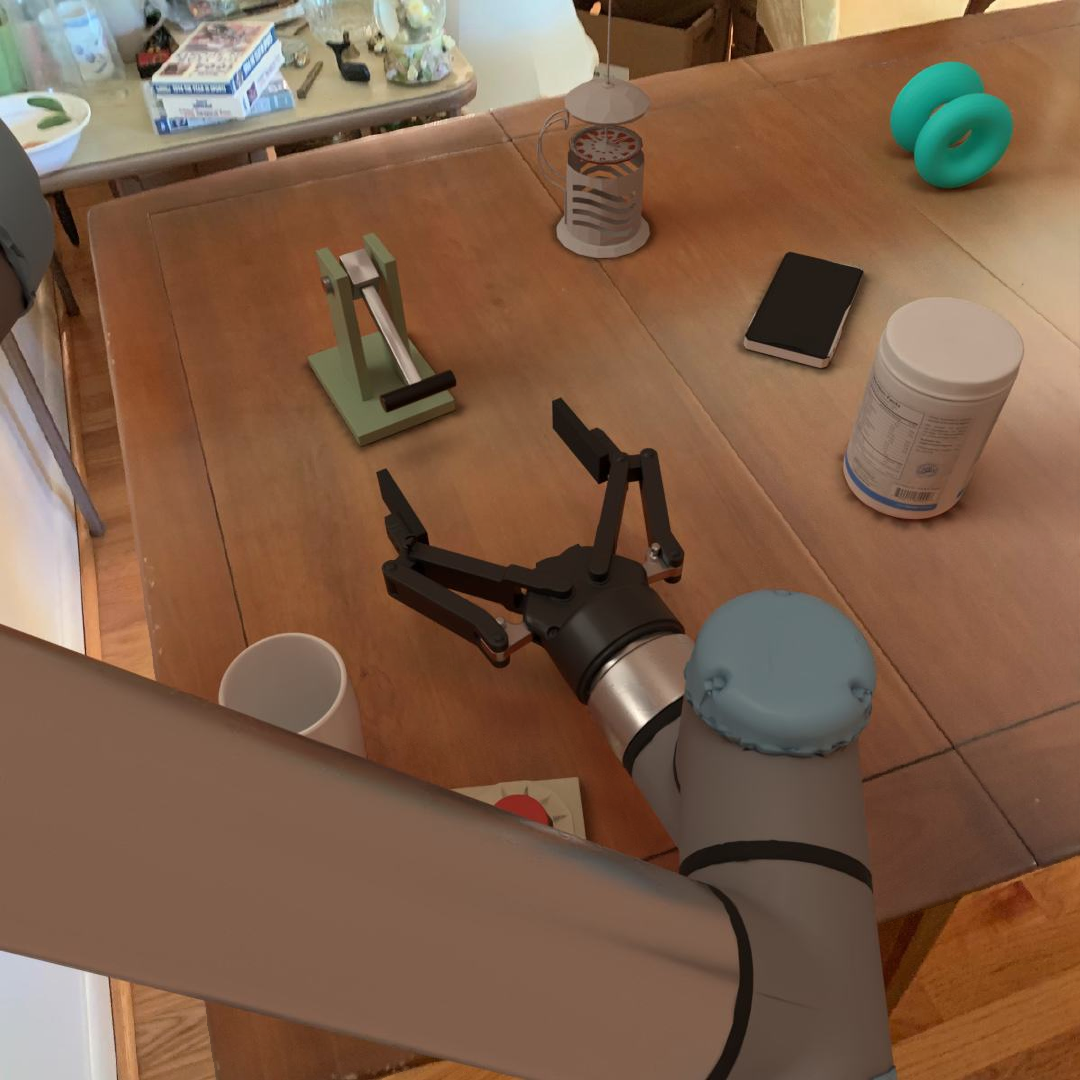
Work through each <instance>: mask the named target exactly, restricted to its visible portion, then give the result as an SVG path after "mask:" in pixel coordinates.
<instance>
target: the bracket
mask: <svg viewBox="0 0 1080 1080" xmlns="http://www.w3.org/2000/svg"><path fill="white" fill-rule="evenodd" d="M362 240H363V244H364V245H363V246H364V248H365V249H366V251H367V253H368V255H369V257H370V259H371V261H372V263H373V265H374V266H375V268H376V270H377V272H378V274H379V292H378V295H379V297H380V298H381V300H382V302H383V304H384V306H385V308H386V310H387V312H388V314H389V316H390V318H391V320H392V322H393V324H394V326H395V328H396V330H397V332H398V334H399V336H400V338H401V340H402V342H403V344H404V346H405V348H406V350H407V351H408V353H409V355H410V357H411V359H412V361H413V363H414V365H415V367H416V369H417V371H418V373H419V375H420V377H421V379H425V378H427V377H430V376H433V375H435V374H436V373H435V371H434V370H433V369H432V368H431V366H430V365H429V363H428V362H427V360H425V358H424V356H423V355H422V354H421V353H420V352H419V350H418V348H417V347H416V346H415V344H414V343H413V342H412V341H411V339H410V338H409V335H408V329H407V322H406V317H405V316H406V315H405V310H404V303H403V298H402V291H401V285H400V279H399V271H398V266H397V260H396V258H395V257H394V256H393V255H392V253H391V252H390V251H389V250H388V248H387V247H386V246H385V244H384V243H383V242H382V241H381V240H380V237H379V236H378V235H377V234H376V233H375V232H370V233H367V234H364V235H362ZM315 254H316V258H317V263H318V268H319V272H320V275H321V277H320V283H321V286H322V289H323V292H324V294H325V297H326V301H327V306H328V311H329V314H330V319H331V323H332V328H333V332H334V336H335V341H336V345H335V346H332V347H330V348H326V349H324V350H321V351H319V352H316V353H313V354H310V355H308V356H307V360H308V364H309V366H310V368H311V370H312V372H313V373H314V375H315V376H316V378H317V379H318V381H319V382H320V384H321V386H322V387H323V389H324V390H325V392H326V394H327V396H328V397H329V398H330V400H331V402H332V403H333V405H334V407H335V409H336V410H337V411H338V414H339V415H340V416H341V418H342V419H343V421H344V422H345V424H346V426H347V428H348V429H349V430H350V432H351V434H352V436H353V438H354V439H355V440H356V442H357V444H358V445H359V447H363V446H366V445H369V444H371V443H373V442H377V441H379V440H382V439H384V438H387V437H389V436H393V435H394V434H396V433H399V432H400V433H401V432H403V431H405V430H407V429H410V428H413V427H415V426H418V425H419V424H420V425H421V424H422V423H425V422H427V421H430V420H433V419H435V418H438V417H440V416H443V415H445V414H448V413H451V412H453V411H455V410H456V408H457V407H456V401H455V398H454V397H453V396H452V394H451V393H450V391H449V390H446V391H443V392H441V393H438V394H435V395H433V396H430V397H428V398H425V399H422V400H420V401H417V402H415V403H412V404H409V405H407V406H404V407H402V408H399V409H396V410H394V411H391V412H389V413H386V412H385V411H384V409H383V408H382V405H381V403H380V398H379V396H380V395H382V394H385V393H388V392H390V391H393V390H396V389H398V388H401V387H404V386H406V384H405V382H404V380H403V378H402V376H401V374H400V372H399V370H398V368H397V366H396V364H395V362H394V360H393V358H392V356H391V354H390V352H389V350H388V348H387V346H386V344H385V342H384V340H383V338H382V336H381V334H380V332H379V330H378V331H375V332H372V333H369V334H366V335H364V336H361V331H360V327H359V322H358V317H357V312H356V307H355V303H354V302H355V301H354V300H353V297H352V292H351V287H350V282H349V278H348V275H347V273H346V272H345V271H344V269H343V268H342V267H341V265H340V264H339V261H338V260H337V258H336V256H335V255H334V254H333V252H332V251H331V250H330V249H329V247H327V246H326V247H323V248H320V249H316V250H315Z"/></svg>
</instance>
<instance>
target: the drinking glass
mask: <svg viewBox="0 0 1080 1080" xmlns="http://www.w3.org/2000/svg"><path fill="white" fill-rule="evenodd" d="M345 664H346V663H345V662H344V660H343V658H342V656H341V655H340V653H339V651H338V650H337V649H336V648H335V647H334V646H333V645H332V644H331V643H329V642H328V641H326V640H324V639H323V638H321V637H318V636H315V635H312V634H310V633H302V632H283V633H278V634H274V635H270V636H267V637H265V638H262V639H259V640H258V641H256V642H254V643H252V644H251V645H249V646H247V647H246V648H245V649H244V650H242V651H241V652H240V653H239V654H238V655H237V656H236V657H235V658H234V659H233V660H232V661H231V663H230V664H229V666H228V667H227V669H226V670H225V672H224V673H223V676H222V679H221V682H220V685H219V689H218V704H220V705H222V706H225V707H228V708H231V709H233V710H236V711H239V712H241V713H244V714H247V715H250V716H252V717H255V718H258V719H260V720H263V721H266V722H269V723H271V724H274V725H277V726H279V727H282V728H285V729H288V730H290V731H293V732H296V733H298V734H301V735H304V736H307V737H309V738H312V739H315V740H317V741H320V742H323V743H325V744H328V745H331V746H334V747H336V748H339V749H342V750H344V751H347V752H350V753H353V754H355V755H358V756H361V757H363V758H366V759H369V758H368V751H367V744H366V738H365V731H364V723H363V718H362V711H361V708H360V704H359V700H358V696H357V692H356V689H355V687H354V683H353V681H352V678H351V676H350V673H349V671H348V669H347V667H346V665H345Z"/></svg>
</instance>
